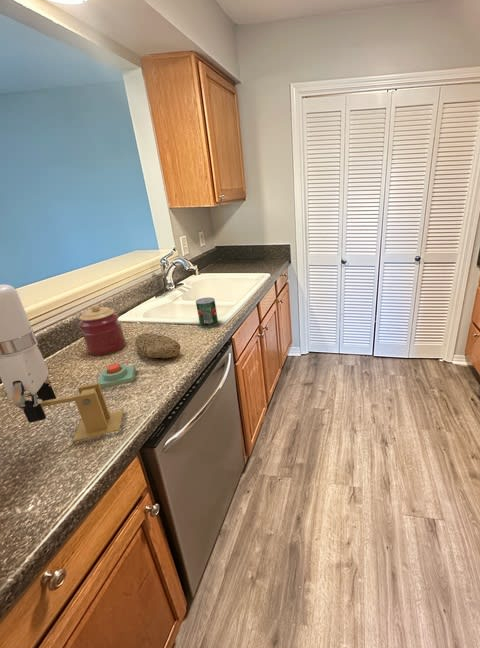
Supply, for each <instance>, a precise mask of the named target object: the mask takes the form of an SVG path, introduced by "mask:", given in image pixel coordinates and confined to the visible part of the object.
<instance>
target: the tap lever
mask: <svg viewBox="0 0 480 648" xmlns="http://www.w3.org/2000/svg"><path fill="white" fill-rule="evenodd" d="M92 391H96V389H95V388H93V389H87V390H82V392H81V394H83V393H87V392H92ZM75 395H76V394H74V395H69V396H64V397H58V398H57V397H56V399H51V400H45V401H43V400H42V399H41V398H38V396H37V401H38V404H41V406H42V408H43V409H44V408H45V407H50V406H54V405H56V406H57V405H61V404H66V403H72V402H75V400H74V396H75ZM28 400H30V401H32V399H31V398H29V399H28Z"/></svg>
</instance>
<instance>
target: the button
mask: <svg viewBox="0 0 480 648" xmlns="http://www.w3.org/2000/svg"><path fill="white" fill-rule="evenodd" d="M120 365H121V364H120V363H118V362H117V363H116V362H115V363H111V364H109V365H108V366H107V367H106V369H107V371H108V373H109V374H113V373H116V372H119V371H120V370H121V367H120Z"/></svg>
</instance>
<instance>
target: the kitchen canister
mask: <svg viewBox="0 0 480 648" xmlns="http://www.w3.org/2000/svg"><path fill="white" fill-rule="evenodd" d="M119 317H120V316H119V315H118V314H117V313H116V312H115V309H113V308H110V307H107V306H99V305H98V304H93V305H92V306H91V307H90V309H88V310H87V309H86V310H85V311H84V312H83V313H82V314H81V315H80V316H79V320H80V321H78V326H79V327H80V328H81V334H82V336H83V339H84V341H85V345H86V350H87V351H88V353H89V354H90V355H92V356H104V355H109V354H113V353H115V352H118V351H119V350H121V349H123V348H124V347H125V346H126V337H125V335H124V332H123V329H122V323H121V322H120V321H119Z"/></svg>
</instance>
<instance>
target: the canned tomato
mask: <svg viewBox="0 0 480 648" xmlns="http://www.w3.org/2000/svg"><path fill="white" fill-rule="evenodd" d="M195 306H196V311H197V316H198V322H199V326H200V327H201V328H213V327H216V326H218V324H219V319H218V318H219V317H218V312H217V306H216V301H215V298H214V297H201V298H199V299H197V300H195Z"/></svg>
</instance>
